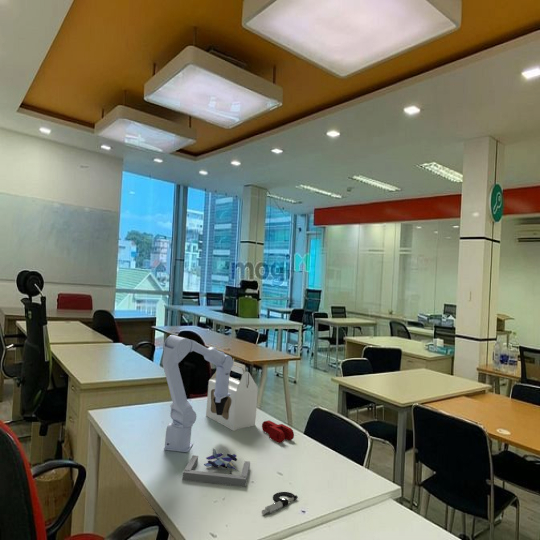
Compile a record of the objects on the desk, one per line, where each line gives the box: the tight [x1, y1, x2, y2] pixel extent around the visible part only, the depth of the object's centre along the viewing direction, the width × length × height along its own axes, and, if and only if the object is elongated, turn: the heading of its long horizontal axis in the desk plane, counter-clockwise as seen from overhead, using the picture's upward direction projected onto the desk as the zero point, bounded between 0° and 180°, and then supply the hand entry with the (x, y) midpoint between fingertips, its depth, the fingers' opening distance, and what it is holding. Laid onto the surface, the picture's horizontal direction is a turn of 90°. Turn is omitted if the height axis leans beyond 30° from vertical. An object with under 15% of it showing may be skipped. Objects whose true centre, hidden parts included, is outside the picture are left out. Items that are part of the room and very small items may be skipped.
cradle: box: [182, 455, 251, 488], centre depth 138 cm, size 21×13×2 cm, turn 87°
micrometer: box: [261, 491, 298, 516], centre depth 123 cm, size 15×7×2 cm, turn 134°
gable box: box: [205, 360, 259, 431], centre depth 191 cm, size 22×13×28 cm, turn 43°
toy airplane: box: [203, 448, 239, 475], centre depth 142 cm, size 13×14×4 cm
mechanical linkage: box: [261, 420, 295, 444], centre depth 176 cm, size 16×7×5 cm, turn 40°
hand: (219, 414), depth 170 cm, fingers closed
